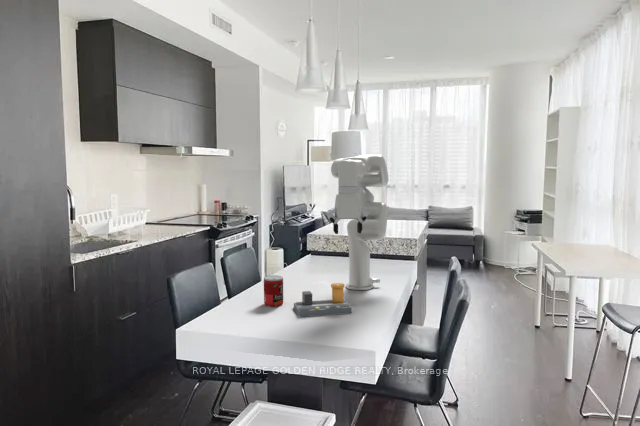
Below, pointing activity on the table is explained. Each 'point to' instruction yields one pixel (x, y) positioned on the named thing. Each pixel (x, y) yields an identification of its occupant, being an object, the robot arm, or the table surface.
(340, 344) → the table surface
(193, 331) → the table surface
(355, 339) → the table surface
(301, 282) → the table surface
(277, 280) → the canned food
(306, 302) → the knob
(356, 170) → the robot arm
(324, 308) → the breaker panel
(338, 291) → the orange pill bottle
